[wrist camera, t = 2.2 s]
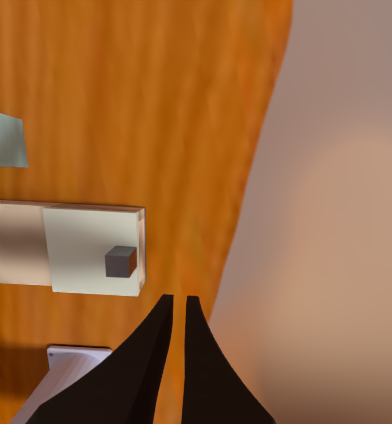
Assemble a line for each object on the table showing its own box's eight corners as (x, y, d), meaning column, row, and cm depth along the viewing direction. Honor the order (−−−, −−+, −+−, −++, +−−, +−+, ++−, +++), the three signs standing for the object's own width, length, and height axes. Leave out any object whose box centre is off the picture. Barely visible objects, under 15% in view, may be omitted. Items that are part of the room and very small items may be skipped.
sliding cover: (139, 292, 19) (130, 311, 16) (57, 287, 19) (35, 305, 16) (138, 211, 17) (127, 218, 14) (47, 206, 17) (21, 212, 14)
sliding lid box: (145, 279, 21) (140, 290, 19) (-5, 271, 21) (-26, 281, 19) (145, 207, 19) (139, 211, 17) (-20, 198, 19) (-44, 201, 17)
